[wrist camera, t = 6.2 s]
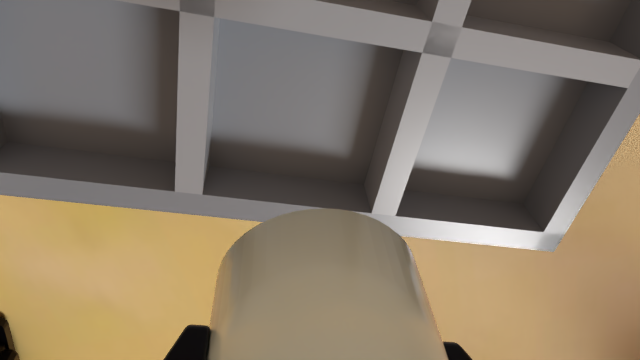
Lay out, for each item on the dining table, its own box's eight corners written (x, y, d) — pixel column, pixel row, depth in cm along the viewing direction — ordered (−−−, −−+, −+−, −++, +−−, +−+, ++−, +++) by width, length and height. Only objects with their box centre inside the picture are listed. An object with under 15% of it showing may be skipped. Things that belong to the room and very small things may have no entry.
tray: (-10, 154, 19) (-46, 190, 17) (-153, -489, 10) (-266, -581, 8) (528, 216, 23) (553, 251, 21) (762, -209, 14) (846, -221, 12)
